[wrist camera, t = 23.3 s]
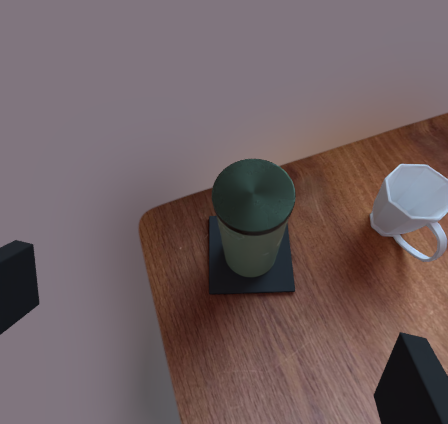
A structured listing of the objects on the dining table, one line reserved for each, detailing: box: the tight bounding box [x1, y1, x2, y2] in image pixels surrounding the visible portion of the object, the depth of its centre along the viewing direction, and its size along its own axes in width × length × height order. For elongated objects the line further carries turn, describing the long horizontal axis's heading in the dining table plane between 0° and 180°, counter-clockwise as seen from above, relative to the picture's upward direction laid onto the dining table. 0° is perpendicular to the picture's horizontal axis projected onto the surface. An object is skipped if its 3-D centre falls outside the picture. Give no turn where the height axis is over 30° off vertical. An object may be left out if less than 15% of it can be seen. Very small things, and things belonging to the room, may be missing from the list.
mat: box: [209, 216, 295, 294], centre depth 38 cm, size 10×10×1 cm
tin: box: [212, 159, 296, 277], centre depth 31 cm, size 7×7×15 cm
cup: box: [370, 164, 448, 262], centre depth 35 cm, size 7×10×8 cm
